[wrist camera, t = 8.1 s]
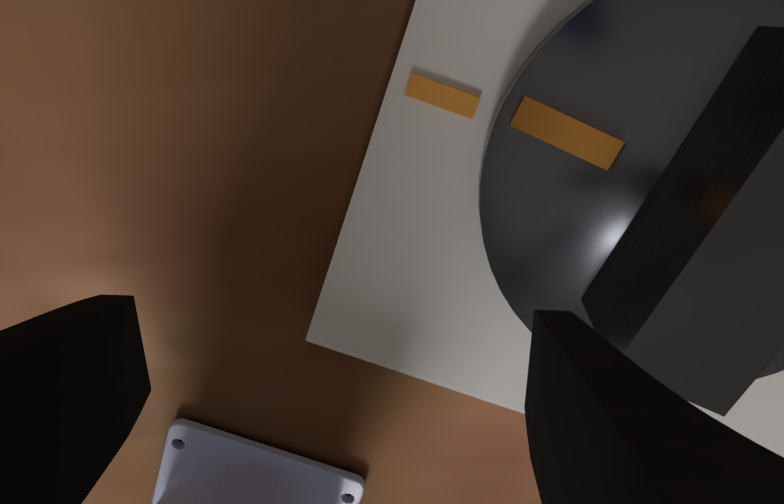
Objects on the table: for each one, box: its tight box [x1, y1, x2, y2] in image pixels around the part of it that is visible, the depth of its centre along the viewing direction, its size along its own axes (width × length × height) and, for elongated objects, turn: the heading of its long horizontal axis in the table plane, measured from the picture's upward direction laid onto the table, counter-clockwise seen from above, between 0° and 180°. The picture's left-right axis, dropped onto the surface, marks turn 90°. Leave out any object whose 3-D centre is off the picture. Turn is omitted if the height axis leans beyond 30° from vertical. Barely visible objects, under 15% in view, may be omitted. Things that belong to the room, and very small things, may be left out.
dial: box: [478, 0, 784, 417], centre depth 14 cm, size 12×12×4 cm
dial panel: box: [305, 0, 784, 457], centre depth 17 cm, size 18×18×2 cm
